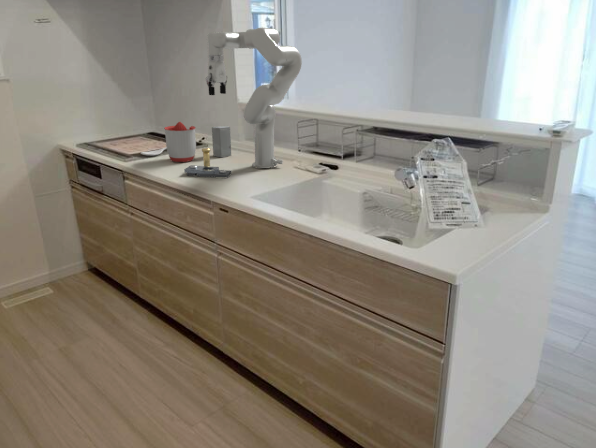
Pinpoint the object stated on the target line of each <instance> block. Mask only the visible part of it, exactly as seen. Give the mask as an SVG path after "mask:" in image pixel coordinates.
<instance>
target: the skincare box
mask: <svg viewBox="0 0 596 448" xmlns="http://www.w3.org/2000/svg"><path fill="white" fill-rule="evenodd" d="M211 136H212V153H213V154H212V155H213V157H217V158H225V157H229V156H232V143H231V142H232V139H231V138H232V137H231V126H225V125H224V126H222V125H221V126H213V127H211Z"/></svg>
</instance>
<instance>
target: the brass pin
mask: <svg viewBox="0 0 596 448" xmlns="http://www.w3.org/2000/svg"><path fill="white" fill-rule="evenodd" d="M201 152H202V155H203V157H202V158H203V166H210V167H211V160H210V158H211V155H210V152H211V148H208V147H207V148H206V147H203V148H201Z"/></svg>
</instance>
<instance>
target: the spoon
mask: <svg viewBox="0 0 596 448" xmlns="http://www.w3.org/2000/svg"><path fill="white" fill-rule="evenodd" d="M165 150H167V147H166V146H165V147H162V148H160V149H156V150H151V151H141V152H140V155H143V156H146V157H155V156H158V155H160V154H161V153H163V151H165Z"/></svg>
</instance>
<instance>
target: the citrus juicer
mask: <svg viewBox="0 0 596 448" xmlns="http://www.w3.org/2000/svg"><path fill="white" fill-rule="evenodd" d="M164 134H165V145H166V146H165V147H167V149H166V151H167V155H168V157H169V159H170V161H171V162H176V163H177V162H178V163H187V162H191V161H193V160H194V158H195V155H196V149H197V139H196V126H193V125H191V126H190V127H189V129H187V127H186V126H185V125H184V123H183V122H181V121H178V122H177V123H176V124H175V125H169V126H165V127H164Z"/></svg>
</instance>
